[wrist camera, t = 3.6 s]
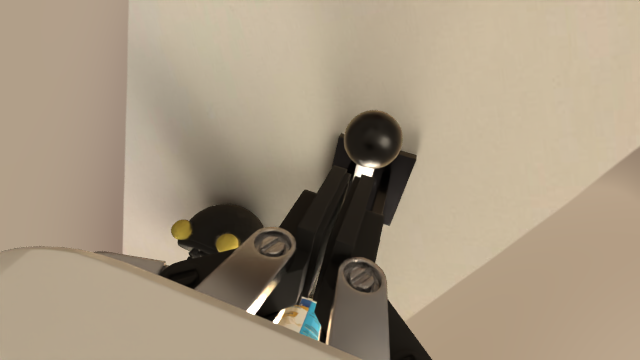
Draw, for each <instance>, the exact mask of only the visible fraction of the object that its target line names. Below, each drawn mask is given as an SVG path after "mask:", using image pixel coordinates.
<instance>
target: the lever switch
mask: <svg viewBox="0 0 640 360" xmlns="http://www.w3.org/2000/svg"><path fill="white" fill-rule="evenodd" d="M416 156H417V155H414V154H411V153H407V152H404V151H400V152H399V154H398V155H397V157H396V158H395V159H394V160H393V161H392V162H391V163H389V164H388V165H386V166H384V167H381V168H375V169H374V172H373V175H372V177H374V178H375V180H374V183H373V186H372V190H371V193H370V196H369V199H368V203H367V206H366V210H369V211H372V212H375V213H378V214H381V215H384V222H383V224H385V225H388V226H390V224H391V221H392V219H393V216H394V214H395V211H396V209H397V206H398V204H399V201H400V199H401V196H402V194H403V191H404V189H405V186H406V184H407V181H408V179H409V176H410V174H411V171H412V169H413V166H414V164H415V162H416ZM334 165H335V166H338V167H342V168H345V169H347V173H349V174H351V178H350V181H349V185H348V189H347V192H346V196H347V194H348V191H349V189H350V187H351V184H352V182H353V178H354V173H355V168H356V163H355V162H354V161H353V160H351V158H350V157H349V156H348V154H347V152H346V149H345V146H344V134H342V133H341V135H340V136H339V138H338V143H337V147H336V152H335V156H334V161H333V165H332V167H333V166H334ZM346 196H345V198H346ZM344 201H345V200H344ZM379 243H380V241H379Z"/></svg>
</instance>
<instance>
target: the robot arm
mask: <svg viewBox="0 0 640 360" xmlns="http://www.w3.org/2000/svg"><path fill="white" fill-rule="evenodd" d="M350 178H351V174H349V173H347V169H345V168H342V167H338V166H335V165H334V166H333V167H332V169H331V171H330V172H329V174H328V176H327V177H326V179H325V181H324V182H323V184H322V186H321V187H320V189H319V191H318V193H314V192H311V191H308V190H304V191H303V192H302V194H301V195H300V197H299V198H298V200H297V201H296V203H295V204H294V206H293V207H292V209H291V210H290V212H289V213H288V214H287V216H286V217H285V219H284V220H283V222H282V223H281V225H280V226H279V227H265V228H262V229H259V230H257V231H256V232H255V233H253V234H252V235H251V236H250V237H249V238H248V239H247V240H246V241H245V242H244V243H243V244H242V245H240V246H239V247H238V248H236V249H231V250H227V251H223V252H218V253H214V254H210V255H205V256H201V257H197V258H193V259H188V260H184V261H180V262H177V263H174V264H172V265H170V266H168V265H166V262H165V261H160V260H154V259H148V258H142V257H136V256H130V255H124V254H118V253H112V252H89V251H84V250H79V249H71V248H65V247H45V246H34V247H21V248H14V249H10V250H5V251H2V252H0V360H432V359H431V357H430V356H429V355H428V354H427V352H426V351H425V349H424V348H423V347H422V345H421V344H420V343H419V341H418V340H417V339H416V337H415V336H414V334H413V333H412V332H411V330H410V329H409V328H408V326H407V325H406V324H405V322H404V321H403V319H402V318H401V317H400V315H399V314H398V313H397V311H396V310H395V309H394V307H393V306H392V304H391V303H390V302H389V300H388V298H387V280H386V276H385V274H384V272H383V270H382V269H381V268H380V267H379V266H378V265H377V264H376V263H375V261H376V256H377V251H378V246H379V241H380V236H381V232H382V227H383V222H384V215H381V214H378V213H375V212H372V211H369V210H366V206H367V203H368V199H369V196H370V193H371V190H372V186H373V183H374V180H375V178H374V177H371V176H367V175H364V174H361V177H358V176H355V177H354V180H353V182H352V184H351V187H350V189H349V191H348V194H347V196H346V192H347V189H348V185H349V181H350ZM345 196H346V198H345ZM344 200H345V201H344ZM319 271H320V273H319ZM318 273H319V277H318V281H317V285H316V289H315V292H314V296H313V301H315V302H317V303H316V307H315V311H314V313H315V315H316V317H317V319H318V321H319V323H320V325H321V328H320V331H319V337H318V341H317V340H315V339H312V338H310V337H308V336H305V335H303V334H300V333H298V332H296V331H293V330H291V329H288V328H286V327H284V326H281V325H279V324H277V323H278V322H279V320H280V319H281V317H282V315H283V313H284V311H285V309H286V308H289V307H291V306H294V305H298V306H299V304H300V302H301V300H302V297H305V298H307V299H308V298H309V295H310V293H311V291H312V288H313V286H314V283H315V281H316V278H317V276H318Z"/></svg>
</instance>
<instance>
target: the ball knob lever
mask: <svg viewBox="0 0 640 360" xmlns="http://www.w3.org/2000/svg"><path fill="white" fill-rule="evenodd" d="M402 142H403V135H402V131H401V128H400V126H399V124H398V122H397V121H396V120H395V119H394V118H393V117H392V116H391V115H389V114H387V113H385V112H383V111H378V110H370V111H365V112H362V113H360V114H359V115H357V116H356V117H354V118H353V119H352V120H351V122H350V123H349V124H348V126H347V128H346V131H345V134H344V146H345V149H346V152H347V154H348V156H349V157H350V158H351V160H353V161H354V162H355V163H356V168H355V173H354V177H355V176H358V177H361V174H364V175H367V176H371V177H372V175H373V172H374V169H375V168H381V167H384V166H386V165H388V164H389V163H391V162H392V161H393V160H394V159H395V158H396V157H397V155H398V154H399V152H400V150H401V147H402ZM353 180H354V178H353Z"/></svg>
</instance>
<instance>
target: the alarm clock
mask: <svg viewBox="0 0 640 360" xmlns="http://www.w3.org/2000/svg"><path fill="white" fill-rule="evenodd" d="M262 228H264V227H263V225H262V224H261V222H260V220H259V219H258V218H257V217H256V216H255V215H254V214H253V213H251V212H250V211H249V210H247V209H245V208H243V207H240V206H237V205H231V204H220V205H215V206H211V207H208V208H206V209H204V210H202V211H200V212H199V213H197V214H196V215H195V216H194V217H193V218H191V220H190V221H187V220H179V221H177V222H176V223H175V224H174V225H173V226H172V229H171V233H172V235H173V236H174V238H176V239H178V245H179V246H180V247H182V248H184V249H186V250H188V251H190V252H189V255H190V257H188V258H187V260H188V259H193V258H197V257H201V256H205V255H210V254H214V253H218V252H223V251H227V250H231V249H236V248H238V247H239V246H240V245H242V244H243V243H244V242H245V241H246V240H247V239H248V238H249V237H250V236H251V235H252V234H253V233H255V232H256V231H257V230H259V229H262Z"/></svg>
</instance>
